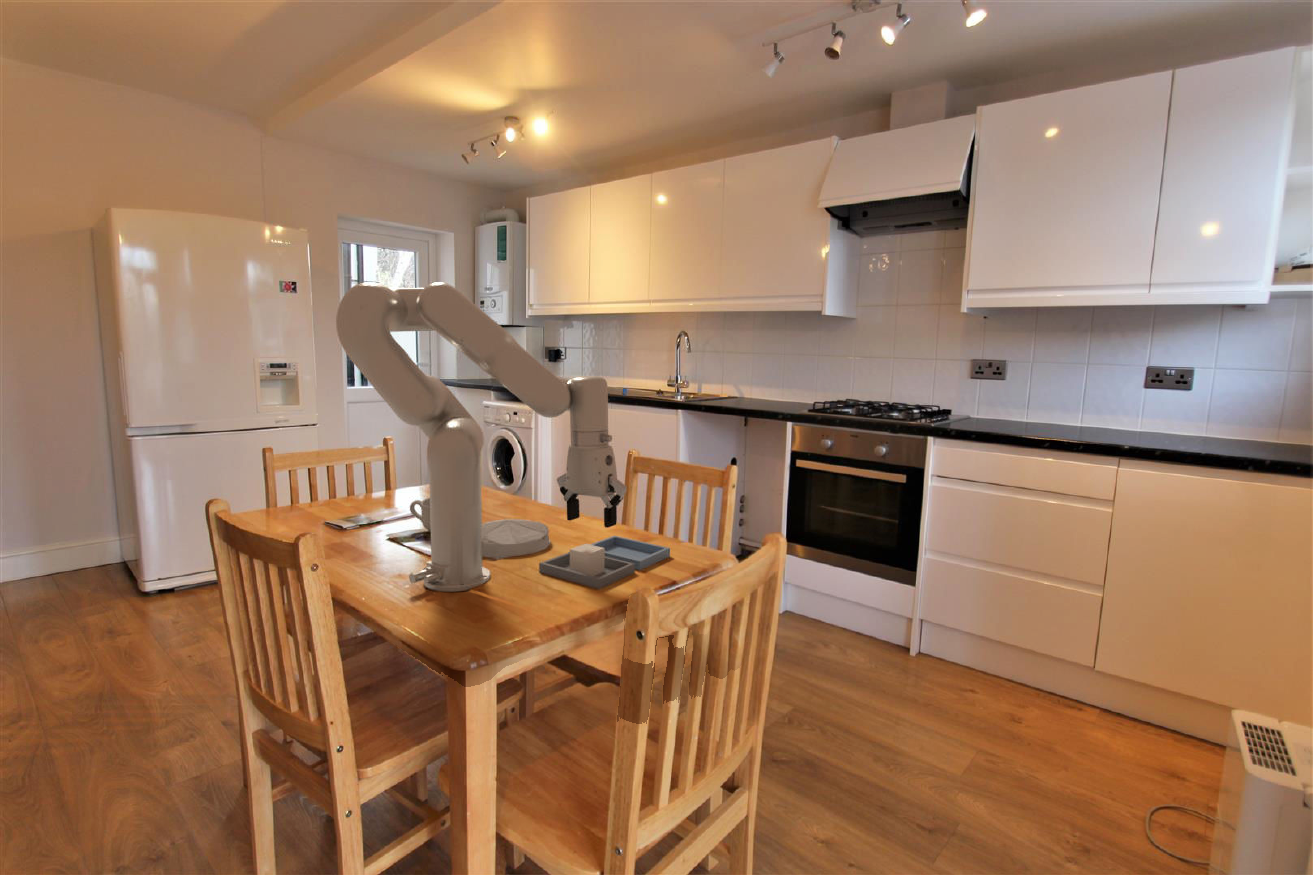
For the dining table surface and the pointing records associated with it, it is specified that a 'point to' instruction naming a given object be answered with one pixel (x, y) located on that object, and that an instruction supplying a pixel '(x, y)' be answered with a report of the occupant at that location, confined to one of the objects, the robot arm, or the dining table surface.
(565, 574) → the charcoal bin
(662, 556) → the slate-blue bin
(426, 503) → the teacup
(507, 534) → the food container
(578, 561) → the stone block
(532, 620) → the dining table surface
